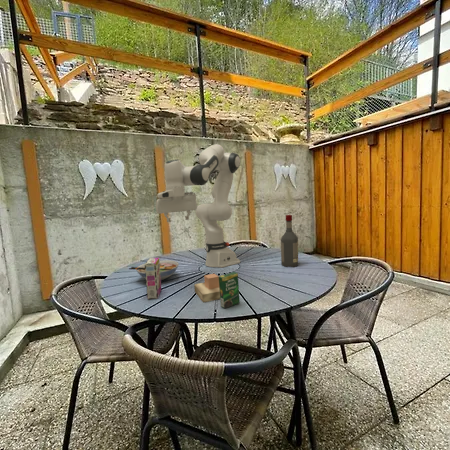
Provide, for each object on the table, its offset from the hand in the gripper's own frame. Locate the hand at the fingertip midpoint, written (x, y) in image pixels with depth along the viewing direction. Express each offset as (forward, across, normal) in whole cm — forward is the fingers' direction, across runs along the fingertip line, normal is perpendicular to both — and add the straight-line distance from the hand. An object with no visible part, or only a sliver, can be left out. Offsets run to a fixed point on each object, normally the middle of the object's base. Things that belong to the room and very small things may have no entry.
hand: (178, 220), depth 133 cm
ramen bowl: (+33, +10, -14) cm, 37 cm away
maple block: (+33, -6, +22) cm, 40 cm away
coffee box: (+33, -8, +37) cm, 50 cm away
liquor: (+34, -64, +7) cm, 72 cm away
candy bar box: (+32, +16, +8) cm, 37 cm away
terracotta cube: (+29, -7, +22) cm, 37 cm away
